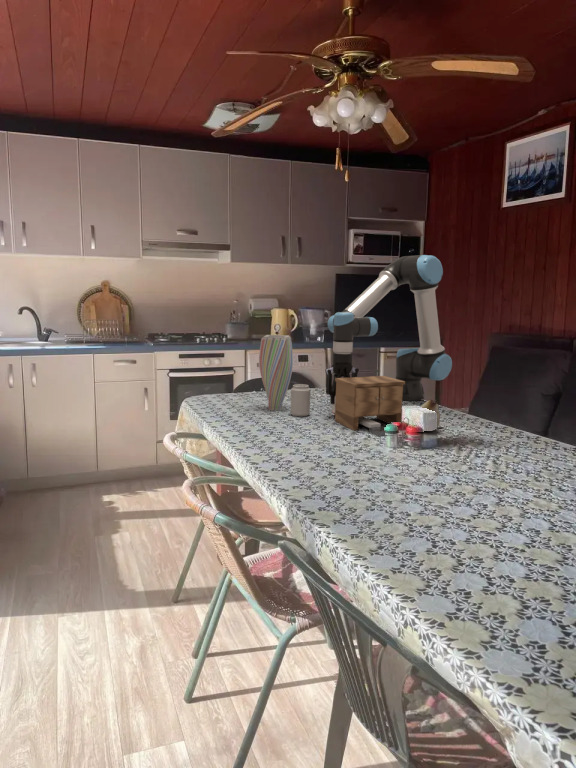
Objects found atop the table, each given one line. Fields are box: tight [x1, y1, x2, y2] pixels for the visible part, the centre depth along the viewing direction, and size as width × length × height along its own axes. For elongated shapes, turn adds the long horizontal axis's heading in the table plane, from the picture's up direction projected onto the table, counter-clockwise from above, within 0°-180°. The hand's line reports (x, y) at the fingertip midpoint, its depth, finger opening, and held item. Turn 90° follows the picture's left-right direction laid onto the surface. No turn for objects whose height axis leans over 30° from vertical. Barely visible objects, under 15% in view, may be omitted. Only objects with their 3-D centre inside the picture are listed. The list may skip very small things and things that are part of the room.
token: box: [368, 426, 386, 437], centre depth 203 cm, size 6×6×2 cm
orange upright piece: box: [331, 395, 382, 429], centre depth 218 cm, size 29×5×12 cm, turn 22°
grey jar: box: [290, 383, 311, 418], centre depth 229 cm, size 8×8×12 cm
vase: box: [258, 334, 294, 411], centre depth 239 cm, size 14×14×30 cm
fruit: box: [419, 398, 441, 428], centre depth 207 cm, size 10×9×12 cm
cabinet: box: [334, 375, 405, 431], centre depth 215 cm, size 21×15×16 cm
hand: (340, 411), depth 229 cm, fingers closed on orange upright piece, 5 cm apart
